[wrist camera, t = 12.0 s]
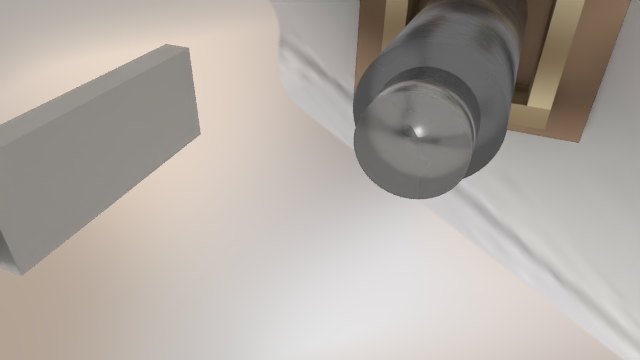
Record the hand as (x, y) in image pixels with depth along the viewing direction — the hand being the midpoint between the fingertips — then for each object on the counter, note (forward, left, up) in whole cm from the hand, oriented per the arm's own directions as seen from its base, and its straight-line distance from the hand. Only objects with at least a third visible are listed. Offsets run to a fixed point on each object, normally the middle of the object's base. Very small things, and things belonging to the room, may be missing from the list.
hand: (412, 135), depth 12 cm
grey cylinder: (0, 0, -14) cm, 14 cm away
